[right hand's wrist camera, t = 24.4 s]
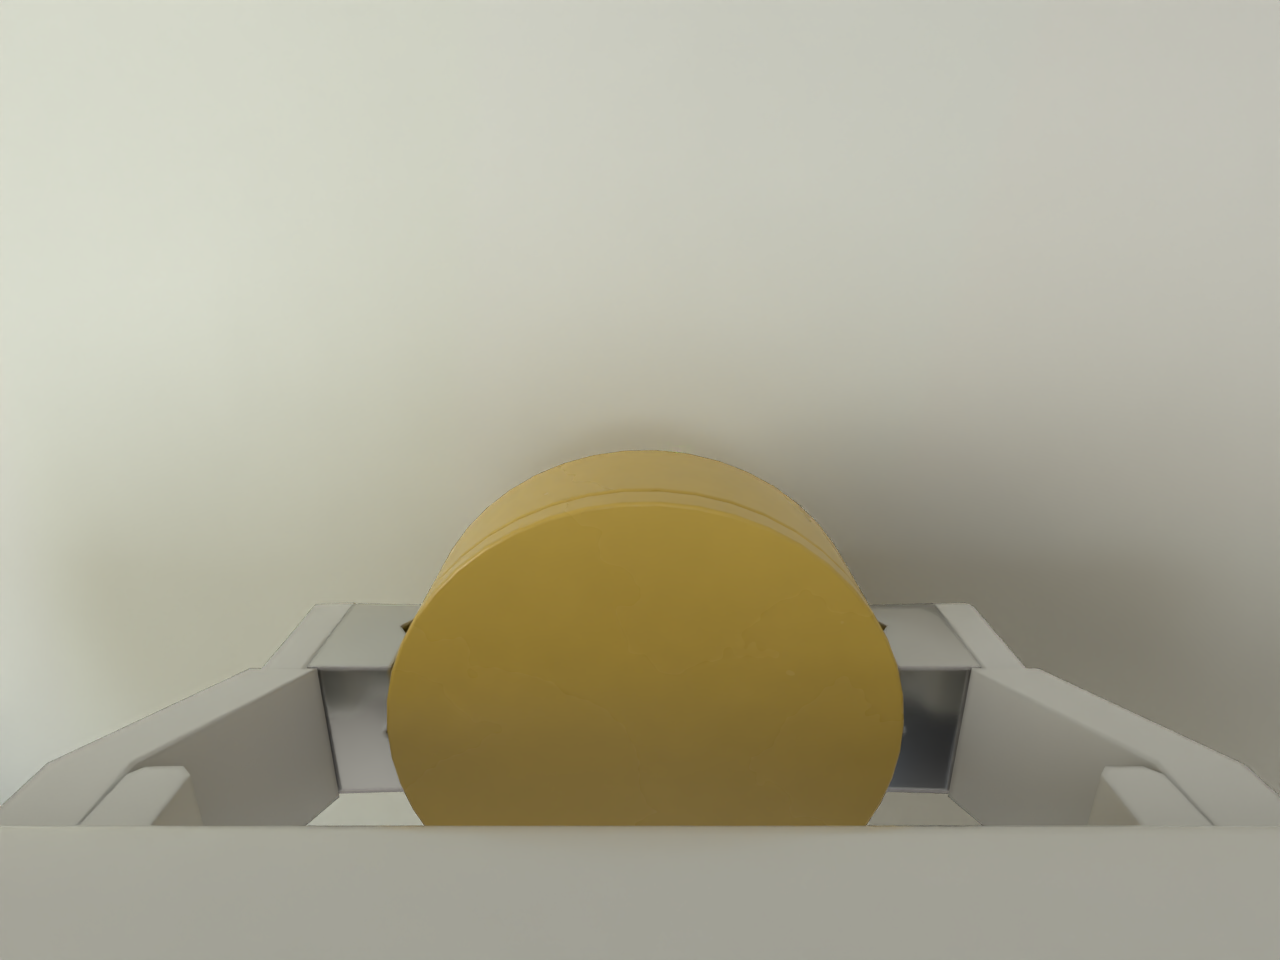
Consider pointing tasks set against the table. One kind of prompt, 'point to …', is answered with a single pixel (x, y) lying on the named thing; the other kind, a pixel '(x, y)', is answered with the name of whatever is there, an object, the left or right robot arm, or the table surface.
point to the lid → (645, 660)
